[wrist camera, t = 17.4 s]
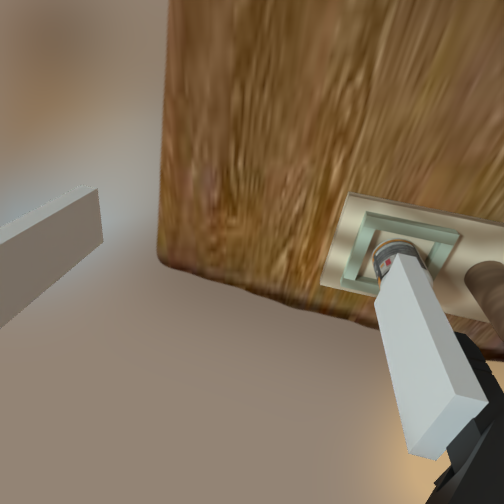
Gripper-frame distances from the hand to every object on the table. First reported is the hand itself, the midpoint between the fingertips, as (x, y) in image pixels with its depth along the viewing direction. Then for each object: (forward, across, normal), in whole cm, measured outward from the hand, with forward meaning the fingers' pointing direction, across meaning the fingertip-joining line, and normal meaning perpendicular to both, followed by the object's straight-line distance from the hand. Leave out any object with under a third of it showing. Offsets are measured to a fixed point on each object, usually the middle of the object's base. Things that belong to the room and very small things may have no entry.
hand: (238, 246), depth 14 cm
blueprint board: (+29, +22, -13) cm, 38 cm away
